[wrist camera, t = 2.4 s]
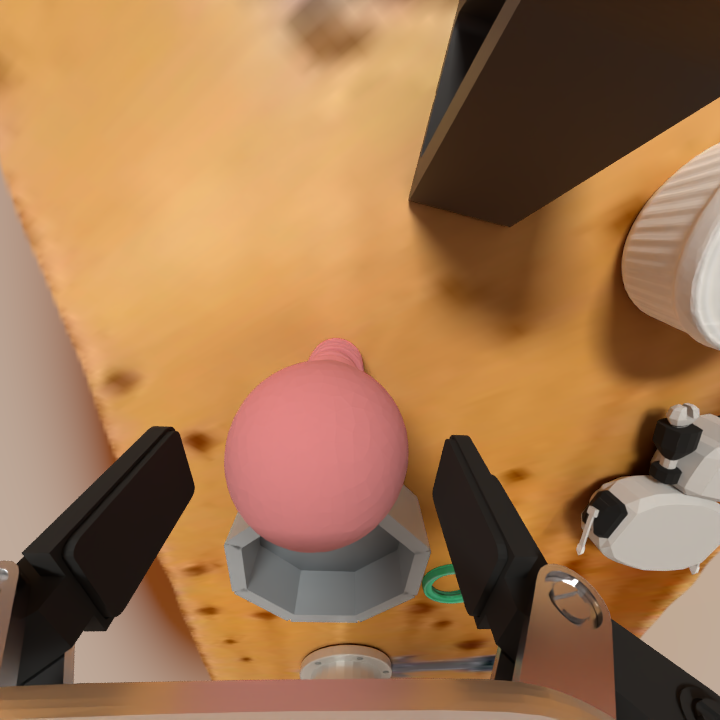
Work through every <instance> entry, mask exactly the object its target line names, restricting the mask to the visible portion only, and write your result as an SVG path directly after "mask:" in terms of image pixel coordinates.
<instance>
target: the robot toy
mask: <svg viewBox="0 0 720 720" xmlns="http://www.w3.org/2000/svg"><path fill="white" fill-rule="evenodd" d="M666 417H667V418H664V419H660V420H659V421H657V424H656V428H655V432H654V436H653V442H654V443H655V445H656V447H657V450H656V452H655V454H654V456H653V458H652V460H651V466H650V470H649V474H650V475H641V476H626V477H620V478H617V479H615V480H612V481H610V482H607V483H605V484H603V485H602V486H601V488H600V489H598V490H596V491H595V492H594V493H593V495H592V496H591V498H590V501H589V504H588V505H587V507H586V508H585V509H584V511H583V512H582V513H581V528H582V529H583V534H582V537H581V540H580V543H579V544H578V545H577V548H576V550H577V553H578V555H580V554H583V553H584V550H585V547H584V546H585V543H586V540H587V537H589V538H590V540H591V541H592V542H593V543H594V544H595V545H596V546H597V548H598V549H599V550H600V551H601V552H602V553H603V554H604V555H605V556H606V557H607V558H609V559H611V560H613V561H615V562H618V563H621V564H624V565H627V566H630V567H633V568H637V569H641V570H659V571H668V570H679V569H685V568H687V567H690V571H691V573H692V574H695V573H698V571H699V568H700V567H699V564H700V563H701V562H703V561H704V560H705V559H706V558H707V557H708V556H709V555H710V554H711V553H712V552H713V551H714V550H715V549H716V548H717V547H718V546H719V545H720V504H718V503H717V502H715V501H719V502H720V416H714V415H712V414H706V415H701V416H699V408H697V407H696V406H695V405H693V404H690V403H685V404H683V405H680V404H679V405H675V406H672V407H670V409H669V410H668V412H667V413H666Z"/></svg>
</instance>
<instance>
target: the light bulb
mask: <svg viewBox="0 0 720 720" xmlns="http://www.w3.org/2000/svg"><path fill="white" fill-rule="evenodd" d="M407 466H408V439H407V432H406V428H405V425H404V421H403V418H402V416H401V413H400V411H399V409H398V407H397V405H396V404H395V402H394V400H393V399H392V397H391V396H390V395H389V394H388V392H387V391H386V390H385V389H384V388H383V386H382V385H381V384H379V383H378V382H377V381H376V380H375V379H374V378H372V377H371V376H370V375H368V374H367V373H365V372H364V368H363V362H362V356H361V354H360V352H359V350H358V349H357V348H356V347H355V346H354V345H353V344H352V343H351V342H349V341H347V340H345V339H340V338H332V339H328V340H325V341H323V342H322V343H320V344H319V345H318V346H317V347H316V348H315V350H314V351H313V353H312V354H311V356H310V358H309V360H308V361H307V362H302V363H298V364H295V365H292V366H289V367H286V368H284V369H282V370H280V371H278V372H276V373H274V374H273V375H271V376H269V377H268V378H266V379H265V380H264V381H263V382H261V383H260V384H259V385H258V386H257V387H256V388H255V389H254V390H253V391H252V392H251V393H250V394H249V395H248V396H247V398H246V399H245V400H244V402H243V403H242V405H241V407H240V408H239V410H238V412H237V414H236V415H235V417H234V420H233V422H232V425H231V427H230V430H229V433H228V437H227V441H226V447H225V459H224V467H225V477H226V481H227V486H228V490H229V493H230V496H231V498H232V500H233V502H234V504H235V506H236V508H237V510H238V512H239V513H240V515H241V516H242V517H243V519H244V520H245V522H246V523H247V524H248V525H249V526H250V527H251V528H252V529H253V530H254V531H255V532H256V533H257V534H259V535H260V536H261V537H263V538H264V539H266V540H267V541H269V542H271V543H273V544H275V545H277V546H280V547H282V548H285V549H288V550H291V551H296V552H302V553H316V552H328V551H333V550H336V549H339V548H342V547H345V546H347V545H350V544H352V543H354V542H356V541H358V540H359V539H361V538H362V537H364V536H366V535H367V534H368V533H369V532H371V531H372V530H373V529H375V528H376V526H377V525H378V524H379V523H380V522H381V521H382V520H383V519H384V518H385V517H386V515H387V514H388V513H389V512H390V510H391V508H392V507H393V505H394V503H395V502H396V500H397V498H398V496H399V493H400V491H401V488H402V486H403V483H404V480H405V476H406V472H407Z"/></svg>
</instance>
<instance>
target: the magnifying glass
mask: <svg viewBox="0 0 720 720" xmlns="http://www.w3.org/2000/svg"><path fill="white" fill-rule="evenodd" d="M450 574H455V571H454V568H453V564H449V565H444V566H440V567H437V568H435V569H433V570H431V571H429V572H428V573H427V574H426V575H425V576H424V578H423V580H422V585H423V590H424V593H425V595H426V596H427V597H428V598H429V599H431V600H434V601H437V602H441V603H461V602H464V601H463V598H462V594H461V591H460V590H458V591H452V592H444V591H439V590H437V589H435V588H434V587H433V586H432V584H433V583H434V582H435V581H436V580H437V579H438V578H440V577H443V576H445V575H450Z"/></svg>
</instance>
